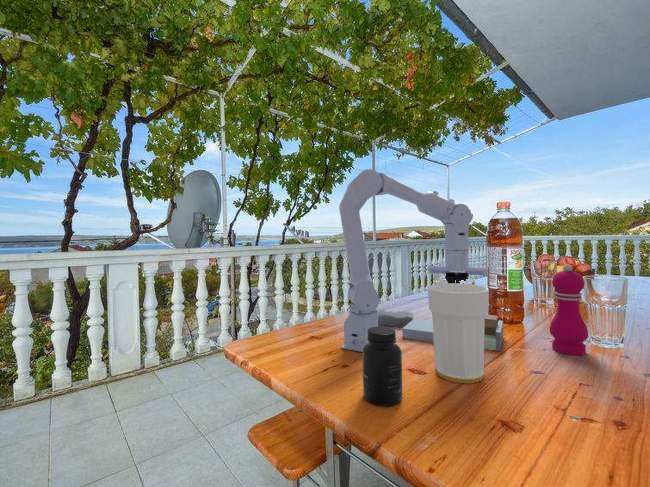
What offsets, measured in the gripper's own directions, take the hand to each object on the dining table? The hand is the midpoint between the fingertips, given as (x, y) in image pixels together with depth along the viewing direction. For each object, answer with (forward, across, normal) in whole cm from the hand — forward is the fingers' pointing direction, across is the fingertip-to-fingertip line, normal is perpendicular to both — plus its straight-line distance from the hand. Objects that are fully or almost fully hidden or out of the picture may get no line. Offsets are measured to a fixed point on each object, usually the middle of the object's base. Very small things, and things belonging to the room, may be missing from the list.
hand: (457, 301), depth 86 cm
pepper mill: (+10, -24, -2) cm, 26 cm away
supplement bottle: (+10, +6, +38) cm, 40 cm away
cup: (+10, -4, +22) cm, 24 cm away
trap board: (+10, +2, 0) cm, 10 cm away
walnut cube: (+7, -7, 0) cm, 10 cm away
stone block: (+10, +20, -8) cm, 24 cm away
